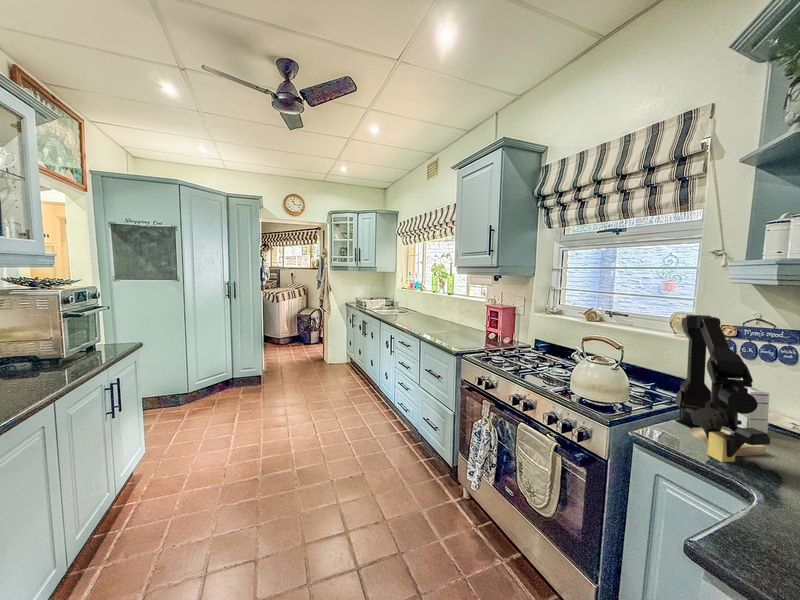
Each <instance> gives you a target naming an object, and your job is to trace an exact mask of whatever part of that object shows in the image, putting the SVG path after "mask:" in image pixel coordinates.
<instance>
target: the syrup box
mask: <svg viewBox="0 0 800 600" xmlns="http://www.w3.org/2000/svg"><path fill="white" fill-rule="evenodd" d="M746 388H747V389H748V393H749V394H750V395H752V396H753V397H754V398H755V399H756V401H757V403H758V406H757V408H756V410H755V411H753V412H751V413H748V414H741V413H738V420H740V421H742V424H741V425H737V426H738V427H740V428H754V429H757V430H759V431H762V432H765V433H767V434H768V430H769V429H768V428H769V427H768V426H769V410H770V409H769V407H770V392H768V391H765V390H763V389H759V388H757V387H753V386H752V387H746Z"/></svg>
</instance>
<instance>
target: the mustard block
mask: <svg viewBox="0 0 800 600" xmlns="http://www.w3.org/2000/svg"><path fill="white" fill-rule="evenodd" d="M724 435H728V434H726V433H724V432H721V431H719V432H709V440H708V443H707V456H709V457H710V458H713V459H715V460H717V461H719V462H720V463H729V462H730V463H731V462H732V463H733V462H736V456H735V454H734V455H733V456H732V457H727V439H726V438H725V436H724Z"/></svg>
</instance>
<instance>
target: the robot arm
mask: <svg viewBox="0 0 800 600" xmlns="http://www.w3.org/2000/svg"><path fill="white" fill-rule="evenodd" d="M681 327H682V329H683V330H682V331H683V333H684V335H685V336H686V337H687V338H688V353H687V371H686V380H685V381H683V382H682V383H681V384H680V390H678V392H677V394H676V396H675V397H674V399H675V405H676V406H677V407H678V408H679V416H678V418H675V419H674V421H675V422H677V423H678V424H679V423H680V424H681V425H684V426H686V427H688V428H691V429H692V428H703V430H704V432H705V434H706V436H707V439H708V440H709V432H719V431H721V428H723V429H725V430H728V431H730V432H731V433H730V435H724V436H725V438H726V439H727V457H732V456H733V455H734V454H735V453H736V452H737V451H738V450H739V448H740V447H741V446H742V445H743V444H745V443H746V444H749V445H763V446H765V445H767V446H769V445H771V436H770V435H769V434H768V432H767V433H765V432H762V431H759V430H757V429H754V428H740V427H738V426H737V425H741V424H742V421H740V420H738V413H741V414H748V413H751V412H753V411H755V410H756V408H757V406H758V403H757V401H756V399H755V398H754V397H753V396H752V395H750V394H749V393H748V389H747V388H746V387H753V382H754V380H753V378H752V374H751V371H750V369H749V368H748V365H747V364H746V363H745V362H744V360H743V359H742V357H741V356H740V354H738V353H736V352H735V351H734V350H732V349H731V348H730V345H729V342H728V340H727V338H726V335H725V334H724V331H723V328H722V327H721V319H720V317H717V316H716V317H714V316H711V315H704V314H703V315H701V314H700V315H699V314H686V315H685V317H682V318H681ZM707 351H708V353H709V358H708V360H707V358H706V357H707ZM706 361H707V362H706ZM706 370H707V373H708V375H709V378H710V381H711V388H709V387H708V386H707V384H706V383H705V379H706V378H705V377H706ZM710 389H711V390H710Z"/></svg>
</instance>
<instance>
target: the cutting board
mask: <svg viewBox="0 0 800 600" xmlns="http://www.w3.org/2000/svg"><path fill="white" fill-rule="evenodd" d="M721 432H724V433H726V434H728V435H730V433H731V431H729V430H727V429H725V428H722V427H721ZM691 436H692V437H694V438H696V439H698V440H700V441H703V443H707V444H708V439H707V436H706V434H705V432H704V430H703V428H691ZM763 455H766V446H765V445H749V444H746V443H745V444H743V445H742V446H741V447H740V448H739V450H738V451H737V452H736V453H735V457H745V456H748V457H749V456H763Z"/></svg>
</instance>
